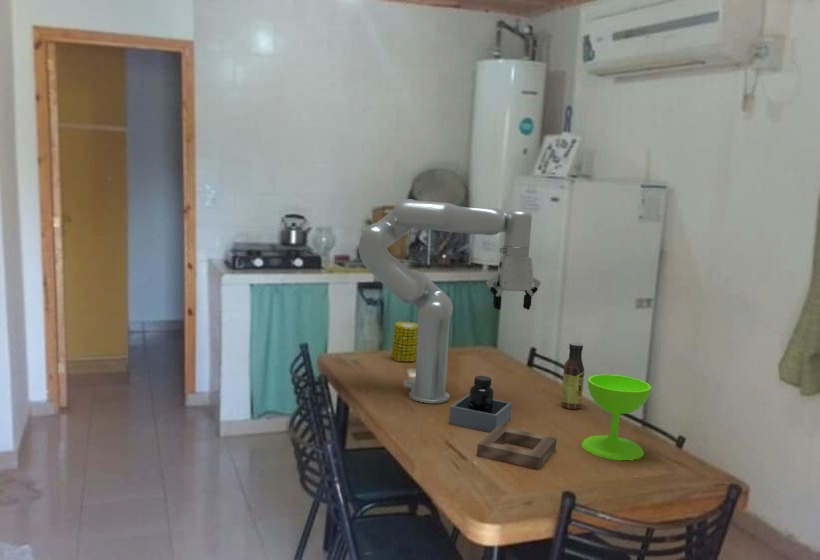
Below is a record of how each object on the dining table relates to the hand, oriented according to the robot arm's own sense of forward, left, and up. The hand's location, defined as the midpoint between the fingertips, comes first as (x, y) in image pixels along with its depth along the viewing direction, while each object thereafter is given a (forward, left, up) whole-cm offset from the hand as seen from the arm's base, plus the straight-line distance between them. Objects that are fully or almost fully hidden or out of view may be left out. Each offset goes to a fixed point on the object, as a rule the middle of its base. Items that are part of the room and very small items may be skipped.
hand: (511, 308), depth 226 cm
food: (-48, +30, -30) cm, 64 cm away
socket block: (+15, -36, -30) cm, 49 cm away
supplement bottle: (-1, -19, -30) cm, 35 cm away
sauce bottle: (+18, +11, -30) cm, 37 cm away
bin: (-1, -19, -30) cm, 35 cm away
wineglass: (+36, -19, -30) cm, 51 cm away
